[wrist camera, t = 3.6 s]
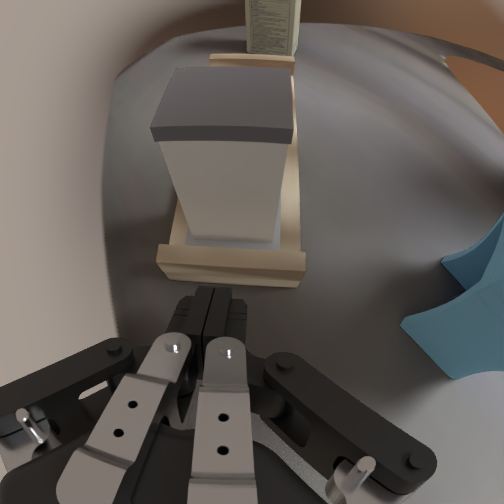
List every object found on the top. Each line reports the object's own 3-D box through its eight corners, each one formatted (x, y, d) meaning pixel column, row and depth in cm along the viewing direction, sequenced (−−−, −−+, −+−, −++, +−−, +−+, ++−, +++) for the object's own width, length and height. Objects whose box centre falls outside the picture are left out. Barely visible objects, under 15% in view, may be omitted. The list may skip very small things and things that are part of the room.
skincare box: (297, 47, 34) (306, -27, 22) (291, 60, 32) (300, -22, 21) (253, 40, 34) (254, -33, 23) (243, 52, 33) (243, -28, 21)
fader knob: (198, 189, 22) (169, 64, 12) (279, 192, 21) (298, 65, 11) (187, 251, 20) (136, 135, 10) (278, 256, 19) (305, 138, 10)
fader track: (213, 78, 30) (210, 53, 27) (291, 80, 30) (294, 56, 27) (169, 279, 21) (155, 262, 17) (296, 287, 21) (305, 271, 17)
